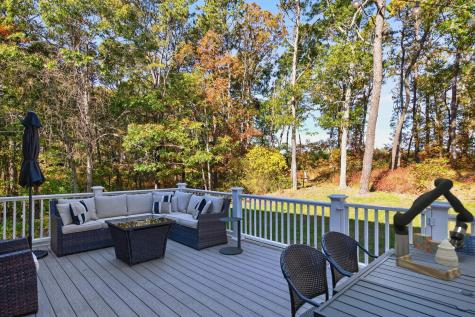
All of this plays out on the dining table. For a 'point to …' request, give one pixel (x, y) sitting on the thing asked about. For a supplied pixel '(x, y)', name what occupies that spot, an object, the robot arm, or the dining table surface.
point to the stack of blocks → (425, 242)
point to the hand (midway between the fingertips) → (451, 253)
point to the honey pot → (446, 254)
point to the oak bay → (427, 269)
